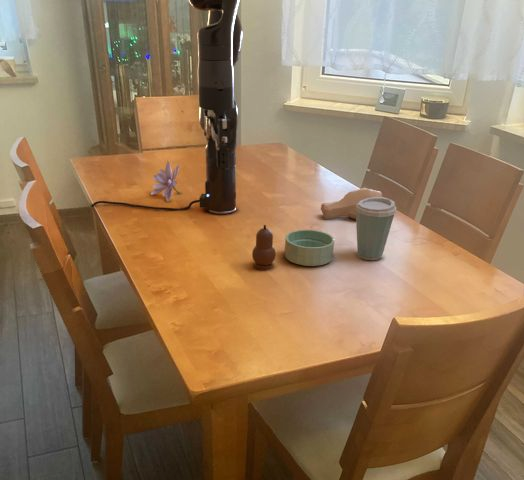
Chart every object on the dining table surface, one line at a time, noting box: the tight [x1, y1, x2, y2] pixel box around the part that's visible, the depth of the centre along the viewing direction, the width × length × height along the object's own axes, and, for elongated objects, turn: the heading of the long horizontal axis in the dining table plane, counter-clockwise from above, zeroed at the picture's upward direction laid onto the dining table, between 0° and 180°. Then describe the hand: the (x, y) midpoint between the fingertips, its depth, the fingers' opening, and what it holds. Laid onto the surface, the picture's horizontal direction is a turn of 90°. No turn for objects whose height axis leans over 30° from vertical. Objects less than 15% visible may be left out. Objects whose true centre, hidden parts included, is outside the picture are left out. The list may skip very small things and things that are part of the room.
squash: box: [320, 186, 383, 220], centre depth 172 cm, size 11×20×9 cm, turn 100°
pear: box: [251, 224, 277, 271], centre depth 138 cm, size 6×6×11 cm
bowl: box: [284, 229, 335, 267], centre depth 145 cm, size 13×13×6 cm
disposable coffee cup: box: [355, 196, 397, 261], centre depth 144 cm, size 11×11×15 cm
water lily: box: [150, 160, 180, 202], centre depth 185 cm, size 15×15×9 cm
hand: (217, 162), depth 123 cm, fingers open, 8 cm apart
